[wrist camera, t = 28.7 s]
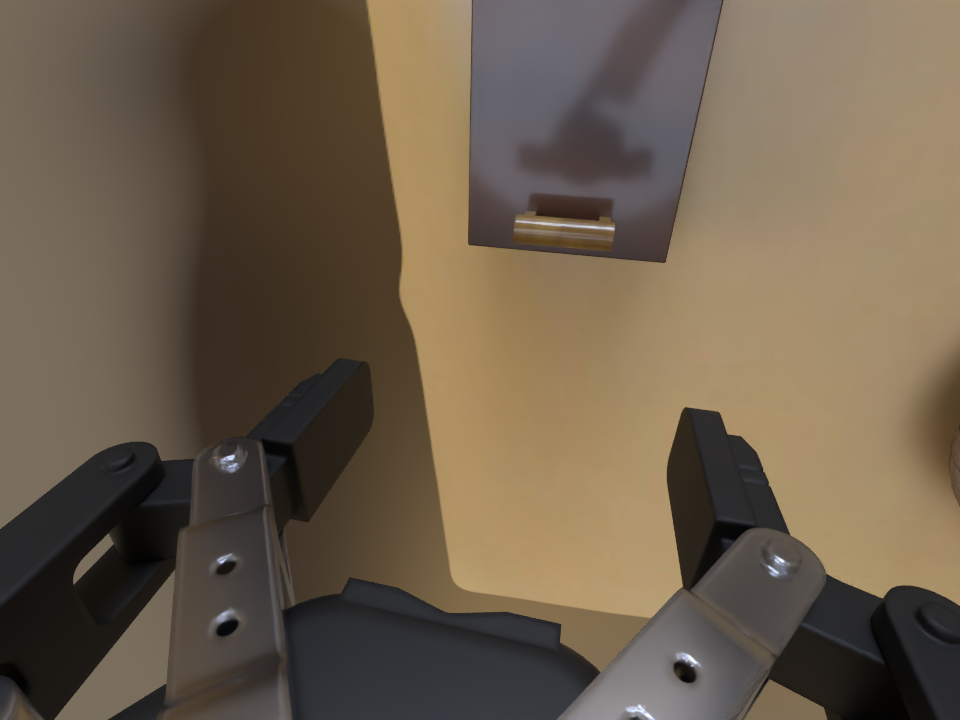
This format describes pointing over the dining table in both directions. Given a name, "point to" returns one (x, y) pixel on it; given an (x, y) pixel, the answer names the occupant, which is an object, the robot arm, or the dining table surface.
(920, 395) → the dining table surface
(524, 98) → the case cover
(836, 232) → the dining table surface
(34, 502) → the robot arm
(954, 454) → the cooking pot
